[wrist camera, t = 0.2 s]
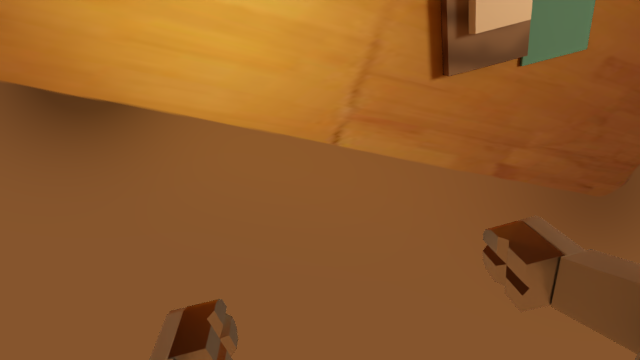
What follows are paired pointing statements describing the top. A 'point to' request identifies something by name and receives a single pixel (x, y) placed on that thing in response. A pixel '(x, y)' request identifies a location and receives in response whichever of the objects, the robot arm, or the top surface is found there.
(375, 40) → the top surface
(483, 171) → the top surface
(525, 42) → the brown wooden board
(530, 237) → the robot arm
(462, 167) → the top surface
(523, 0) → the tile
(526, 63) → the mat
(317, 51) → the top surface
